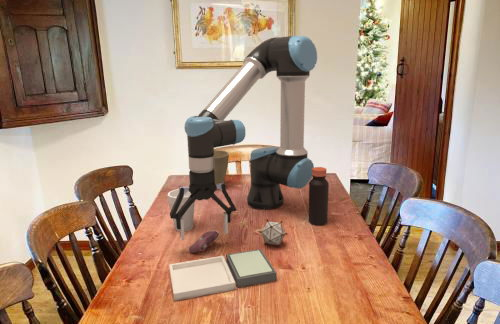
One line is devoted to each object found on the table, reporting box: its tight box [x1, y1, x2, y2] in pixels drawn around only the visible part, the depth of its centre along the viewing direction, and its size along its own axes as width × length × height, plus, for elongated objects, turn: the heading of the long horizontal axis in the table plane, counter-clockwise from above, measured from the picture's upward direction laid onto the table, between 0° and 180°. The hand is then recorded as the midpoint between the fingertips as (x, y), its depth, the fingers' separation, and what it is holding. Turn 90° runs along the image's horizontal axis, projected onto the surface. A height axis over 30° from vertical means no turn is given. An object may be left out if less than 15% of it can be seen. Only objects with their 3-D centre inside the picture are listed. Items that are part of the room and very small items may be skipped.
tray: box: [168, 255, 237, 302], centre depth 102 cm, size 16×15×2 cm
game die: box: [258, 218, 288, 248], centre depth 120 cm, size 9×8×10 cm
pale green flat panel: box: [230, 249, 273, 278], centre depth 105 cm, size 9×12×1 cm
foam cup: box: [167, 188, 196, 232], centre depth 132 cm, size 10×9×13 cm
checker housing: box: [225, 248, 277, 289], centre depth 105 cm, size 11×14×2 cm
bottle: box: [308, 166, 330, 226], centre depth 134 cm, size 7×7×20 cm
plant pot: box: [213, 149, 230, 190], centre depth 175 cm, size 15×15×16 cm
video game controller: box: [188, 229, 220, 254], centre depth 118 cm, size 10×5×7 cm, turn 148°
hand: (204, 235), depth 117 cm, fingers open, 13 cm apart
